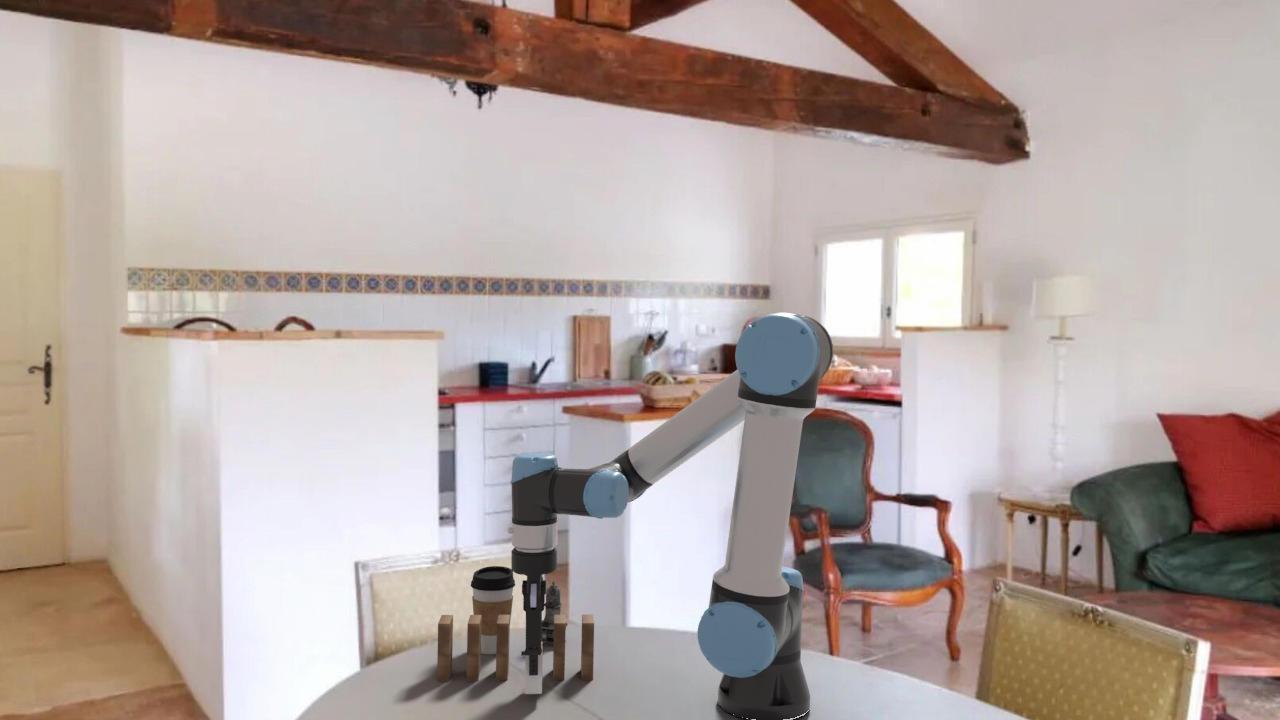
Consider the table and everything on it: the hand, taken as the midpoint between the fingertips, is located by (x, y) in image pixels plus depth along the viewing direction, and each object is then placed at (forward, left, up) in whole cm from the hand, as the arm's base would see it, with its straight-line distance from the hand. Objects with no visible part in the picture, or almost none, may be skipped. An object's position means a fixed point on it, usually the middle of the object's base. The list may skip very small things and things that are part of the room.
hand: (534, 686), depth 156 cm
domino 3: (+11, -5, -2) cm, 12 cm away
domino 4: (+3, -11, -2) cm, 11 cm away
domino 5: (-2, -14, -2) cm, 14 cm away
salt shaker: (+14, -24, -2) cm, 28 cm away
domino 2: (+15, -2, -2) cm, 15 cm away
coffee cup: (+21, -14, -2) cm, 25 cm away
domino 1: (+19, +1, -2) cm, 19 cm away
